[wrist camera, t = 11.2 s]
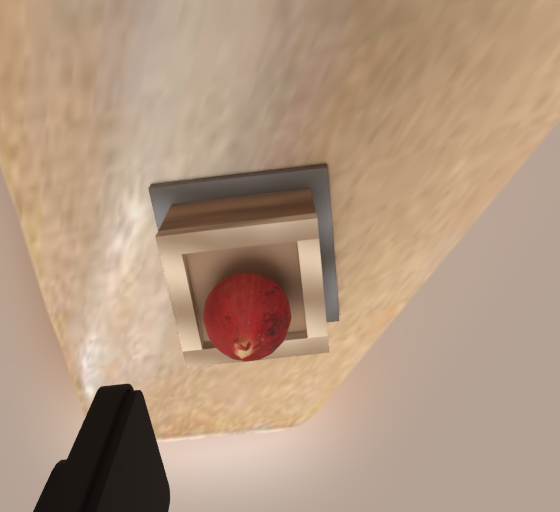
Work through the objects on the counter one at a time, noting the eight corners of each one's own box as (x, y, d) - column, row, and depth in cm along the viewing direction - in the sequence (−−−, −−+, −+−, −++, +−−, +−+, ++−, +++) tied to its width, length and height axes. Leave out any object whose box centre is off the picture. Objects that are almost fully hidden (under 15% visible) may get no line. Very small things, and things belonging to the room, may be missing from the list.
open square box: (151, 184, 42) (128, 218, 35) (326, 163, 41) (338, 194, 34) (184, 331, 48) (170, 385, 41) (337, 314, 47) (349, 366, 40)
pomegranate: (281, 247, 37) (284, 305, 30) (294, 315, 40) (300, 384, 32) (201, 261, 37) (185, 321, 30) (219, 327, 40) (208, 398, 33)
